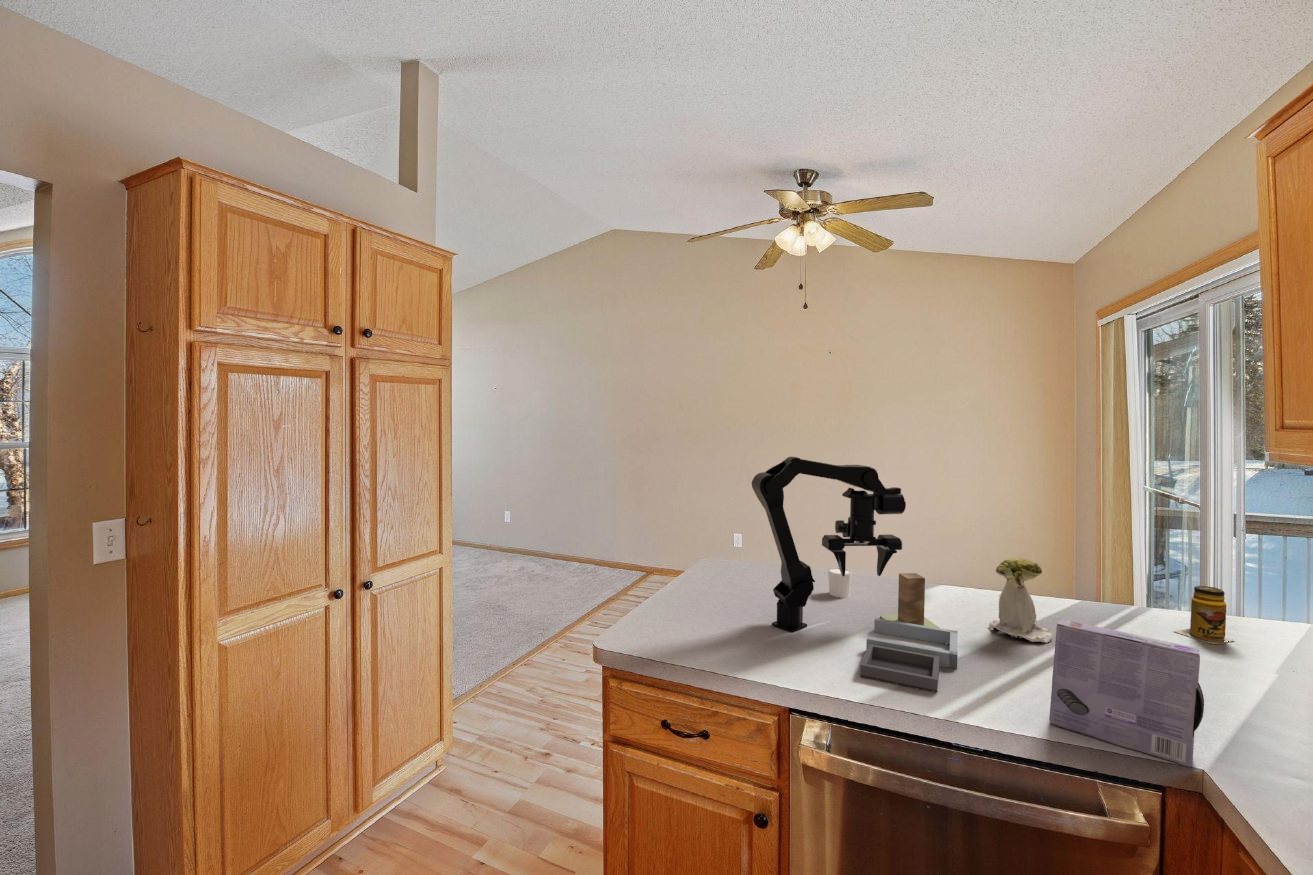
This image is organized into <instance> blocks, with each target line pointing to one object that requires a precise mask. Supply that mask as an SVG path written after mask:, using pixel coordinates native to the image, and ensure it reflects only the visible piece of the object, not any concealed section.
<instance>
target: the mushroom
mask: <svg viewBox="0 0 1313 875" xmlns="http://www.w3.org/2000/svg"><path fill="white" fill-rule="evenodd" d="M1042 570H1043V569H1042V568H1041V566H1040V565H1039V564H1038V563H1037V562H1034V561H1032V560H1030V559H1026V558H1023V557H1022V558H1021V557H1020V558H1019V557H1018V558H1006V559H1003V561H1001V562H1000V563H999V564H998V566H996V569H995V572H996V574H997V575H999V576H1002V577H1004V579H1006V582H1005V585H1004V587H1003V588H1002V590H1001V593H1000V594H999V595H998V596H999V599H998V600H999V601H998V620H997V619H996V620H995V619H993V621H989V624H988V625H989V626H988V628H990V629H989V631H990V630H991V631H994V629H996V630H998V631H1001V632H1004V633H1006V634H1008V635H1010V636H1011V637H1012V638H1013V637H1015V638H1018V637H1019V638H1018V639H1023V638H1024V639H1026V640H1028V641H1029V642H1032V643H1034V642H1037V643H1038V642H1041V643H1046V644H1047V643H1048V642H1049V643H1050V641H1051V640H1052V639H1053V634H1052V633H1051V632H1050V629H1047V628H1045V627H1042V626H1040V627H1039V626H1038V625H1037V624H1036V623H1037V620H1038V619H1037V614H1036V608H1035V604H1034V600H1033V598H1032V596H1031V594H1030V592H1029V591H1028V589H1027V587H1026V586H1025V582H1027V581H1028V582H1029V581H1030V580H1033V579H1035V578H1037V577H1039V576H1040V575H1041V574H1042V573H1043V571H1042Z"/></svg>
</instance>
